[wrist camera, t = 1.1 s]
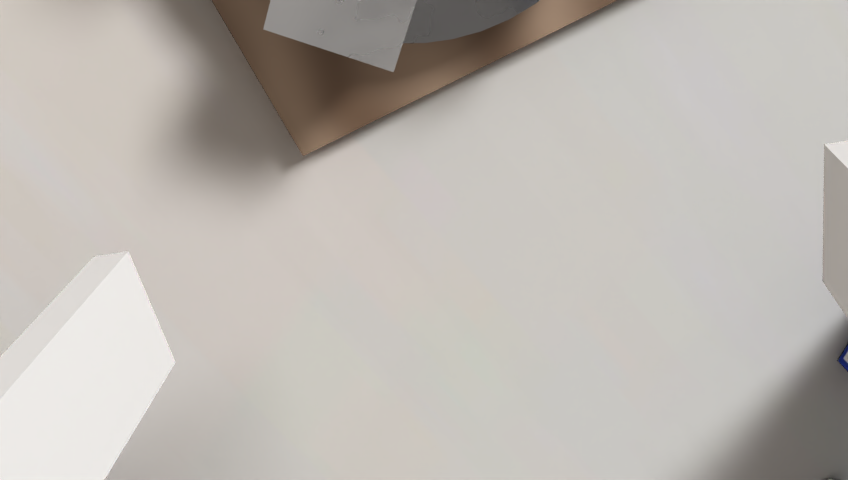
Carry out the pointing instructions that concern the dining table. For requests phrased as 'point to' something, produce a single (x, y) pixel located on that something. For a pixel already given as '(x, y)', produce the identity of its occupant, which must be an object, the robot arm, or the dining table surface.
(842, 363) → the milk carton
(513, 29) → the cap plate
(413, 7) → the notched metal disc
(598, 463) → the dining table surface
